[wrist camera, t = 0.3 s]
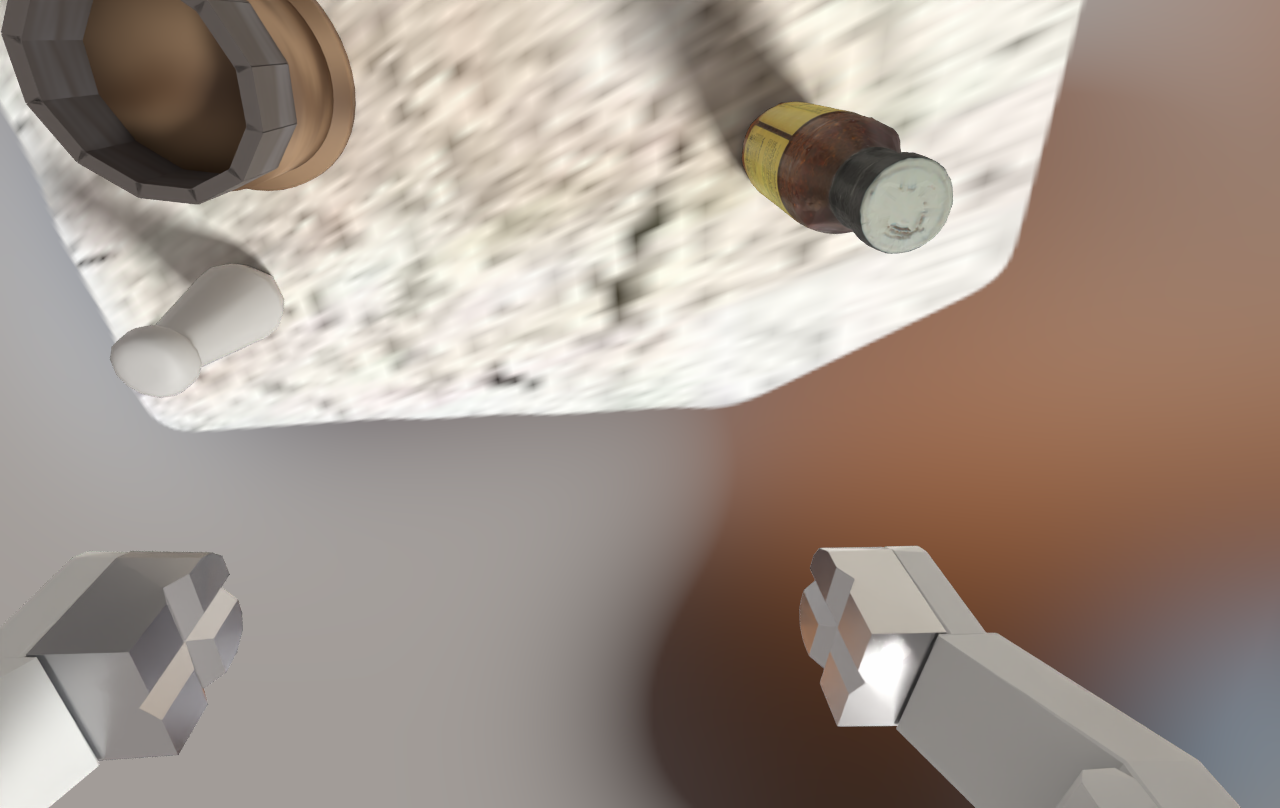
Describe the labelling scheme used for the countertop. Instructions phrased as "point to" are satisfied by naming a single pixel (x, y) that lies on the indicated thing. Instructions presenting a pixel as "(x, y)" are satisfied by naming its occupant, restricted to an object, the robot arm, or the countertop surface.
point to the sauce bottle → (846, 176)
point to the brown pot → (186, 90)
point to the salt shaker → (199, 330)
